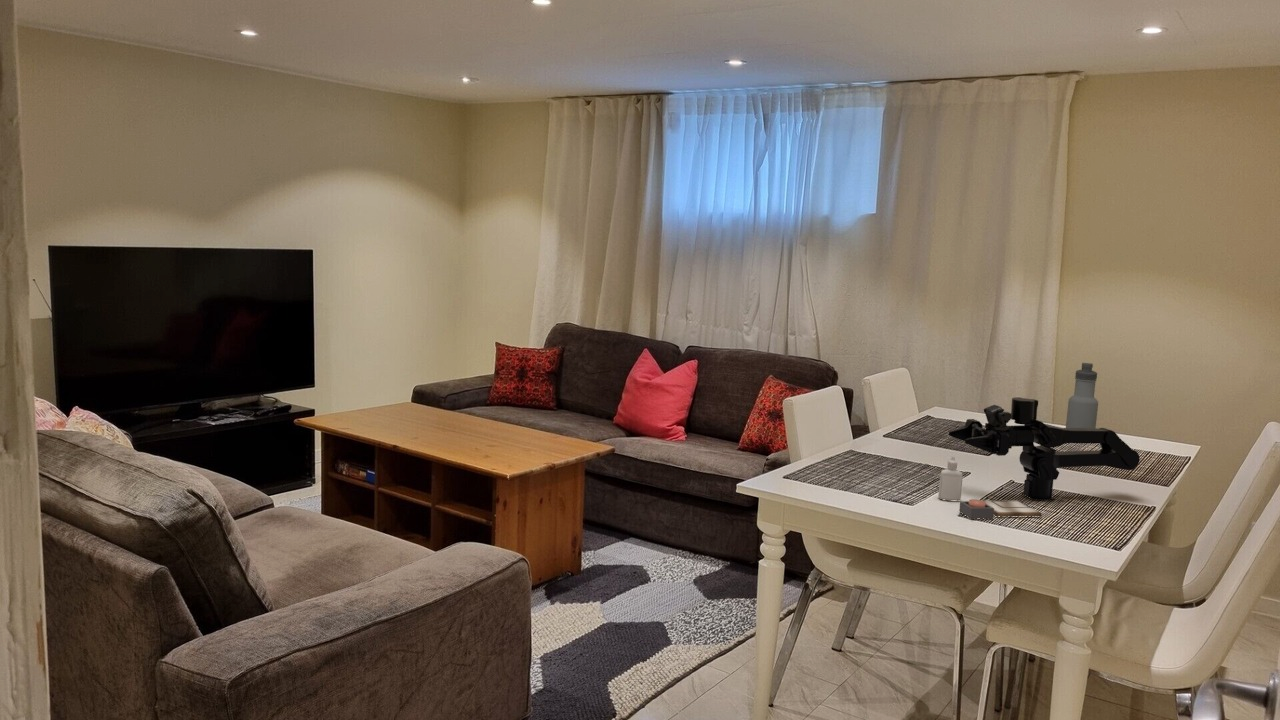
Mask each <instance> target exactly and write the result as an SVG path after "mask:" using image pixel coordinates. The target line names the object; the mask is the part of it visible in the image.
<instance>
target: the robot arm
mask: <svg viewBox="0 0 1280 720" xmlns="http://www.w3.org/2000/svg"><path fill="white" fill-rule="evenodd" d="M1038 407H1039V400H1038V399H1035V398H1025V397H1018V396H1016V397H1012V398H1011V408H1010V409H1011V411H1010V412H1009V411H1005V409H1004V408H1002V407H1001V406H999V405H996V404H993V405H990V406H987V407H985V408H984V409H983V413H984V414H985V418H986V421H987V422H985V423H984V428H983V424H982V422H980V421H979V420H977V419H975V418H968V419H966V421H965V424H964V426H961V427H959V428H956V429H953V430H950V431H949V432H948V436H949V437H952V438H954V439H957V440H961V441H963V442H964V443H965V444H966V445H968V446H971V447H974V448H976V449H980V450H982V451H985V452H988V453H990V454H992V455H997V456H999V457H1002V456H1007V454H1008V453H1009V452H1010V451H1009V450H1011V449H1012V448H1013V447H1022V452H1021V453H1020V454H1019V463H1020V465H1021V466H1022V468H1023V472H1025V473H1027V474H1026V476H1025V477H1026V479H1024V481H1023V482H1024V483H1023V491H1021V493H1022V494H1021V495H1023V494H1024V495H1026V496H1028V497H1030V498H1032V499H1035V500H1034V501H1055V500H1056V498H1055V497H1054V496H1053V488H1054V481H1056V480H1058V477H1059V475H1060V472H1059V470H1058V469H1059V468H1075V467H1076V468H1081V467H1110V468H1114V469H1118V470H1125V471H1133V470H1135V469H1136V467H1138V465H1139V464H1140V459H1141V458H1140V454H1139V453H1138V451H1136V450H1134V449H1132V447H1130V446H1129V445H1128V444H1127V443H1126V442H1125V441H1124V440H1123V439H1121V438H1120V437H1119V435H1118V434H1117V433H1116V432H1115V431H1114V430H1112V429H1108V428H1106V427H1100V428H1098V427H1097V428H1066V427H1060V426H1056V425H1052V424H1047V423H1045V422H1043V421H1041V420H1038V419H1037V416H1038V415H1037V414H1038ZM1010 421H1014V424H1017V425H1008V424H1007V423H1009V422H1010ZM1035 444H1037V445H1035ZM1066 444H1097V445H1099V446H1100V448H1101V449H1098V450H1075V451H1074V450H1071V451H1057V449H1054V448H1057V447H1058V448H1059V447H1062V446H1064V445H1066ZM1024 495H1023V496H1024ZM1026 496H1025V497H1026ZM1028 497H1027V498H1028ZM1030 498H1029V499H1030ZM1032 499H1031V500H1032ZM1036 499H1037V500H1036Z"/></svg>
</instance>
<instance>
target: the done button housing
mask: <svg viewBox="0 0 1280 720" xmlns="http://www.w3.org/2000/svg"><path fill="white" fill-rule="evenodd" d="M958 509H959V511H960V512H962V513H963V514H965V515H966V516H968V517H969V518H971V519H973V518H975V519H977V518H980V519H983V518H985V519H988V518H989V519H993V520H994V516H993V513H994V508H993V507H991V506H989V505H988V504H986V503H985V508H973V507H971V506H969V500H968V501H967V500H966V501H964V500H960V501H959V508H958ZM959 511H958V512H959Z"/></svg>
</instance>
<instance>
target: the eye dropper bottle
mask: <svg viewBox="0 0 1280 720" xmlns="http://www.w3.org/2000/svg"><path fill="white" fill-rule="evenodd" d="M957 469H958V461H957V460H956V459H955V456H954V455H952V456H951V458H950V460H947V468H945V469H943V470H940V471H941V472H940V476H939V485H938V486H939V487H938V498H940V499H945V500H960V501H962V499H961V498H962V490H963V489H962V487H963V477H964V476H963V475H964V474H963V473H962V471H960V470H957ZM940 499H939V500H940Z"/></svg>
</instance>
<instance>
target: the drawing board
mask: <svg viewBox="0 0 1280 720" xmlns="http://www.w3.org/2000/svg"><path fill="white" fill-rule="evenodd" d="M983 501H984V502H985V503H986V504H988V505H989V506H991V507H993V508H994V513H993V514H994V515H995V516H1000V517H1002V516H1007V517H1008V516H1041V517H1042V512H1040V511H1038V510H1037V509H1034V508H1032V507H1031V506H1030V505H1027V504H1026V503H1024V502H1022V501H1020V500H983ZM995 516H994V517H995Z"/></svg>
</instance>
